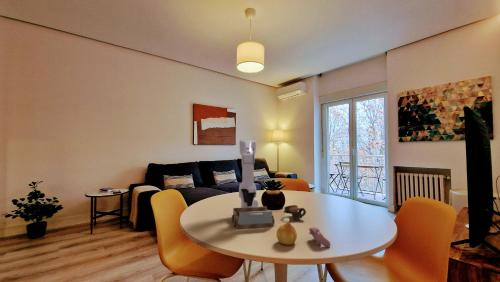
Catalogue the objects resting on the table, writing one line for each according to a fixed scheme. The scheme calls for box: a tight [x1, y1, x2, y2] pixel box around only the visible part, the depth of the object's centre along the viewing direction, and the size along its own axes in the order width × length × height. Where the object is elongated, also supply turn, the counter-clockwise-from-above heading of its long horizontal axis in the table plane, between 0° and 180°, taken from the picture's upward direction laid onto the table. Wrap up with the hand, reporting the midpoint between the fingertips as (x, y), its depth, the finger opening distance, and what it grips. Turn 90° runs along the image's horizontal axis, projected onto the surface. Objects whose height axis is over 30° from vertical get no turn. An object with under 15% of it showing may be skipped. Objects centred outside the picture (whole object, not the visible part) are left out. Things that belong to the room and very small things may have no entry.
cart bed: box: [231, 206, 275, 230], centre depth 118 cm, size 20×14×6 cm
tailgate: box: [239, 210, 273, 225], centre depth 109 cm, size 16×2×6 cm, turn 101°
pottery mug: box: [283, 204, 307, 222], centre depth 125 cm, size 12×10×8 cm
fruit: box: [276, 222, 298, 246], centre depth 93 cm, size 8×8×8 cm
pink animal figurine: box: [308, 226, 331, 248], centre depth 94 cm, size 10×5×7 cm, turn 5°
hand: (247, 204), depth 117 cm, fingers open, 7 cm apart
